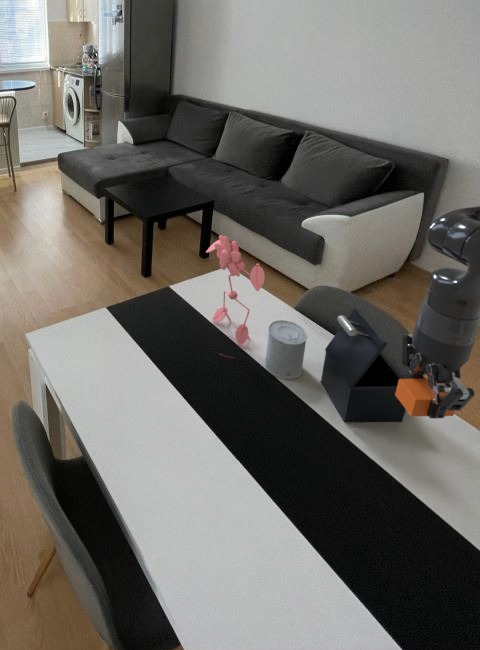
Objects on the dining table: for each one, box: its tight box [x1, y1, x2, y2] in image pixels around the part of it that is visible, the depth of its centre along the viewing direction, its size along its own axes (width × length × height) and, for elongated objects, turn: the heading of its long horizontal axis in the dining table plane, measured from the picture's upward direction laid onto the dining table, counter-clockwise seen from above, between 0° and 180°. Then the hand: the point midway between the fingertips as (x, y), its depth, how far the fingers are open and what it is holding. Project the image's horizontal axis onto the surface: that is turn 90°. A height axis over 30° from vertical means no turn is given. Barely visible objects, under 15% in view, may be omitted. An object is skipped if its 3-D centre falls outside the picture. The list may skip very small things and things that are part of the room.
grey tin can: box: [264, 319, 308, 380], centre depth 119 cm, size 10×10×12 cm
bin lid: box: [324, 307, 388, 388], centre depth 103 cm, size 14×12×6 cm
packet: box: [395, 377, 456, 418], centre depth 76 cm, size 7×5×4 cm, turn 87°
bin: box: [320, 351, 407, 424], centre depth 107 cm, size 14×12×11 cm
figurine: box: [205, 234, 266, 359], centre depth 128 cm, size 15×26×35 cm, turn 19°
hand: (423, 403), depth 77 cm, fingers closed on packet, 4 cm apart
